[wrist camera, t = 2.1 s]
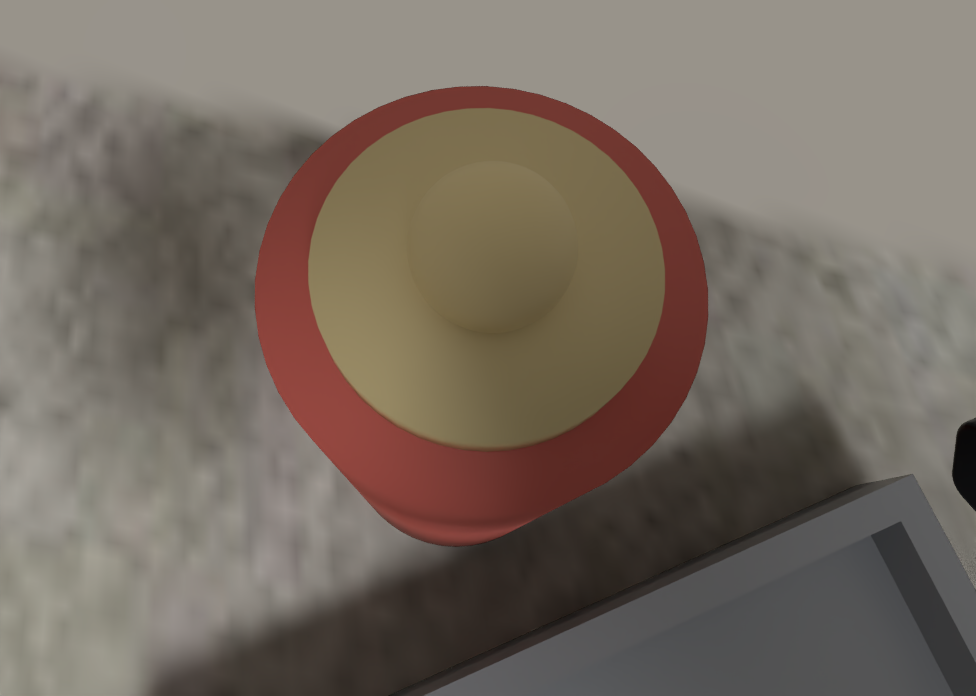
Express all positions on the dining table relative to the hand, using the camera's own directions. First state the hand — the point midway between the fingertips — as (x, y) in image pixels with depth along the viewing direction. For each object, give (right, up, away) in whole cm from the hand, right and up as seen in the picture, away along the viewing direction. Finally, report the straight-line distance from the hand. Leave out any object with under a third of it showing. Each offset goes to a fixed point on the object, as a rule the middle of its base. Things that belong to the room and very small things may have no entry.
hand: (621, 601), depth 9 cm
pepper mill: (-2, +1, +11) cm, 12 cm away
